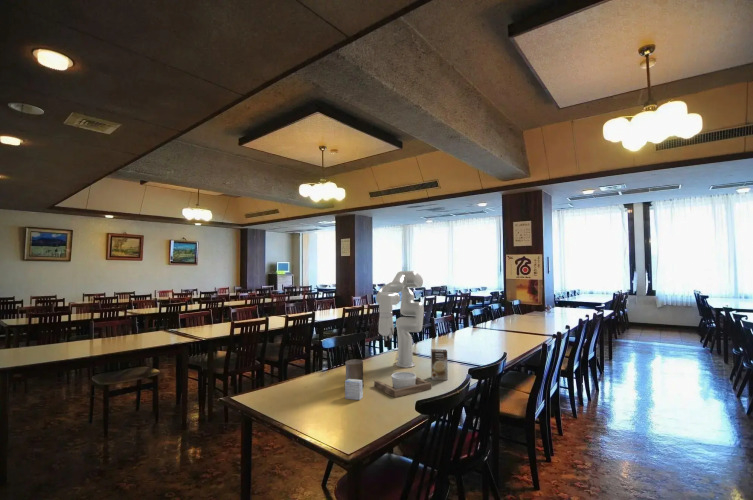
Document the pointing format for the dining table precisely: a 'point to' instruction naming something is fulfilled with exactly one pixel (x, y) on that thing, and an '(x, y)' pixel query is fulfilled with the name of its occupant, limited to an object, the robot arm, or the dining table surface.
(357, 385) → the medicine box
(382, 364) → the dining table surface
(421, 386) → the display stand
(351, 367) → the pillar candle
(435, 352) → the coffee box
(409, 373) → the ramekin
